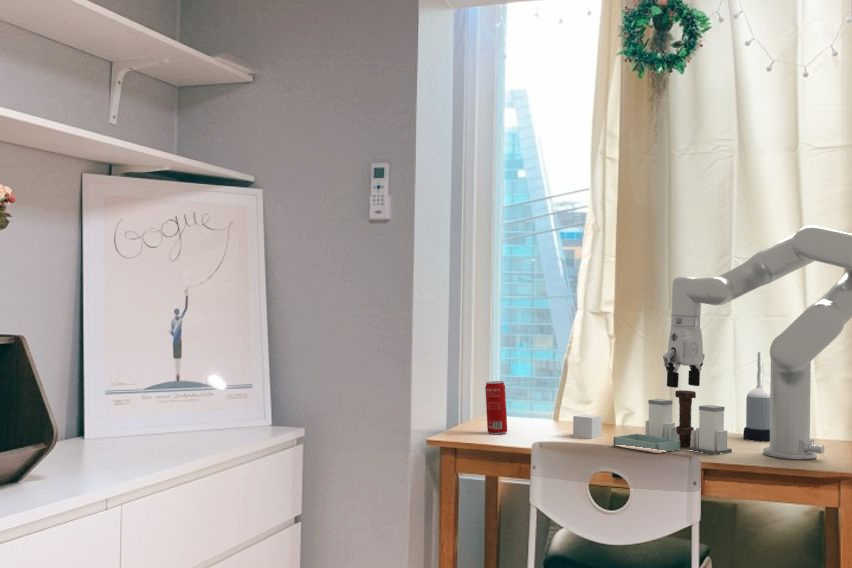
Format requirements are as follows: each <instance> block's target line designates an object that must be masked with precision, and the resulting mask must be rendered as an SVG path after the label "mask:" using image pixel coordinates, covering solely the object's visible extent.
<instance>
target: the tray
mask: <svg viewBox="0 0 852 568" xmlns="http://www.w3.org/2000/svg"><path fill="white" fill-rule="evenodd" d="M614 445H626V446H635V447H643V448H651V449H657V450H665V451H672V452H674V451H673V450H678V449H680V450H681V447H680V441H679V440H673V439H667V438H661V437H655V436H648V435H645V434H641V433H632V434H625V435H619V436H613V446H614ZM678 451H679V450H678Z"/></svg>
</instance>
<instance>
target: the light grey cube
mask: <svg viewBox="0 0 852 568" xmlns="http://www.w3.org/2000/svg"><path fill="white" fill-rule="evenodd" d="M572 418H573V419H572V424H573V426H572V427H573V428H572V437H574V438H580V439H581V438H583V439H590V440H594V439H598V438H601V437H602V434H603V432H602V431H603V416H602V415H595V414H586V413H581V414H577V415H573V417H572Z"/></svg>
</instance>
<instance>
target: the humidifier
mask: <svg viewBox="0 0 852 568" xmlns="http://www.w3.org/2000/svg"><path fill="white" fill-rule="evenodd" d="M761 367H762V368H761ZM762 369H764V365H762V366H761V351H757V374H756V384H757V385H756V387H755V388H752V389H751V390H749V392H748V393H747V395H746V398H745V399H746V400H745V401H746V404H745V405H746V406H745V407H746V412H745V414H746V417H745V421H746V423H745V427H744V428H743V435H742V436H743V437H742V438H743V439H744V440H746V439H748V440H747V441H751V440H753V441H752V442H762V441H764V442H765V443H766V442H769V443H770V391H767V390H766V389H764V388H763V387H764V385H762V384H761V373H762V376H764V374H765V372H764V370H762ZM764 442H763V443H764Z"/></svg>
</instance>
